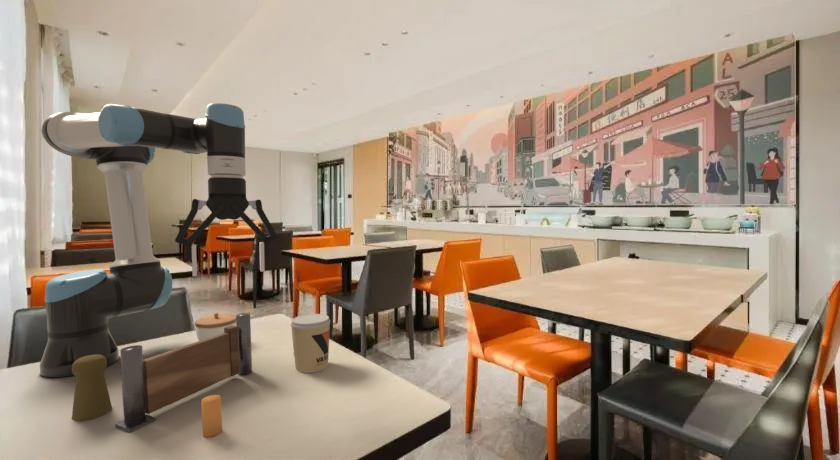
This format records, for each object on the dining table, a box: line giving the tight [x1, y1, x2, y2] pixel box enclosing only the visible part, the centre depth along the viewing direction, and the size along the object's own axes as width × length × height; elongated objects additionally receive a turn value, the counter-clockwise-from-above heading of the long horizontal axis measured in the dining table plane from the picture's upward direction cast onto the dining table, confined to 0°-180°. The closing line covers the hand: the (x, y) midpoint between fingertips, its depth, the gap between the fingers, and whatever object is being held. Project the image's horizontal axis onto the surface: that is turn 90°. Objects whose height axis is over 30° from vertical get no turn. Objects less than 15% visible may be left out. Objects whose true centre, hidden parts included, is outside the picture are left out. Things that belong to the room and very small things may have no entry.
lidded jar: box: [194, 312, 237, 341], centre depth 114 cm, size 11×11×9 cm
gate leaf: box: [143, 326, 239, 415], centre depth 84 cm, size 2×20×11 cm, turn 155°
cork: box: [71, 355, 113, 422], centre depth 77 cm, size 6×6×11 cm
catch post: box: [200, 394, 223, 438], centre depth 70 cm, size 3×3×6 cm
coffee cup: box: [290, 313, 331, 374], centre depth 98 cm, size 9×9×12 cm
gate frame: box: [114, 312, 253, 433], centre depth 83 cm, size 4×28×14 cm, turn 155°
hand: (229, 273), depth 90 cm, fingers open, 13 cm apart
